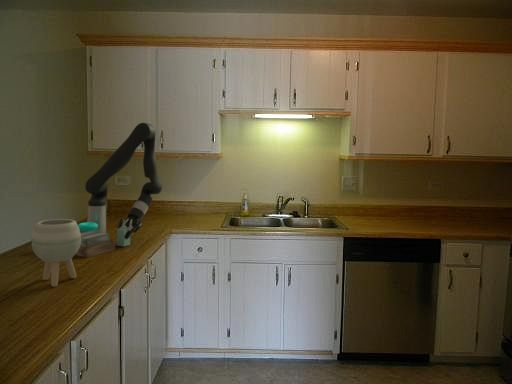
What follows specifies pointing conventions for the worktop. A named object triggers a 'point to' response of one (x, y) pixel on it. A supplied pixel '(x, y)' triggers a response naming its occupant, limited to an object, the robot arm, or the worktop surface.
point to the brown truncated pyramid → (94, 244)
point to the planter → (56, 246)
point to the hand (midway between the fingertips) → (121, 237)
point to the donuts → (87, 226)
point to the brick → (122, 237)
